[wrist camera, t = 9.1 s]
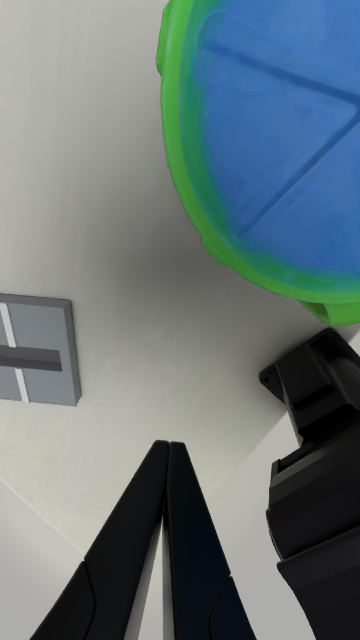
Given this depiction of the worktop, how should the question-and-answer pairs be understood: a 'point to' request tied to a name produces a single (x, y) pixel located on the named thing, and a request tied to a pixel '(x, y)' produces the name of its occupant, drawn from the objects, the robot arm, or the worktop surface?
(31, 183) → the worktop surface
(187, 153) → the snack cup
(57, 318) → the fader console
